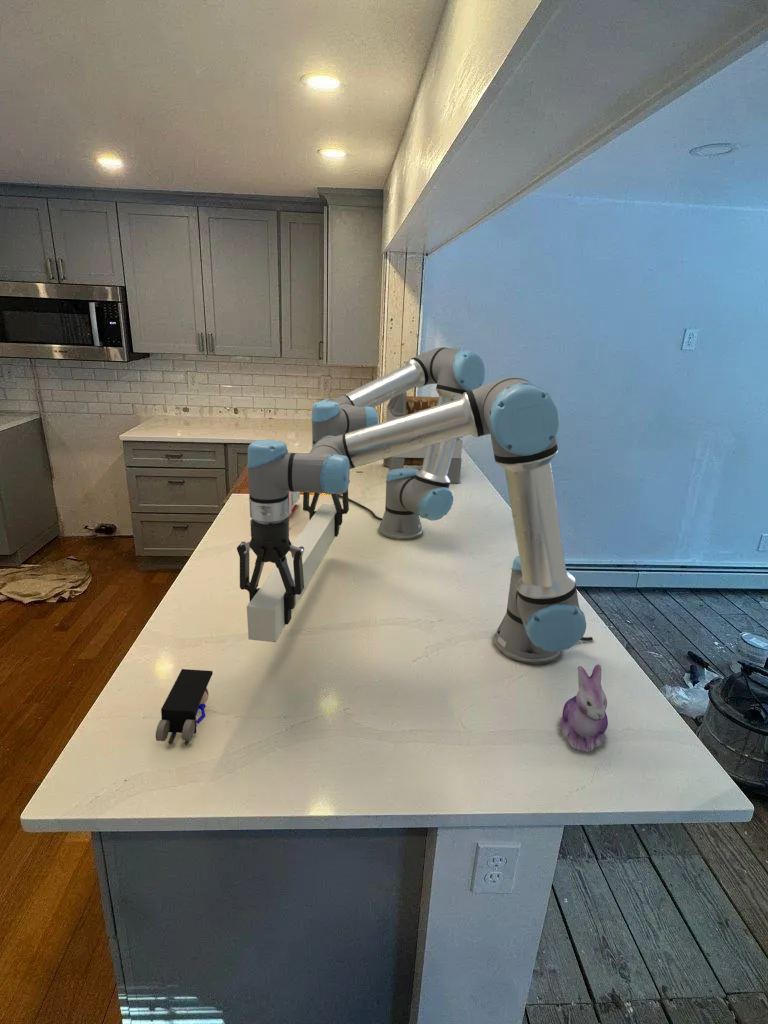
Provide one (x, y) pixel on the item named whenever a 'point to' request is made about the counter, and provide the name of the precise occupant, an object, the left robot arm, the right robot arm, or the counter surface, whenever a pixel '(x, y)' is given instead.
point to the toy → (292, 501)
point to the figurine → (586, 712)
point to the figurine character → (184, 705)
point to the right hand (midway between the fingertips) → (273, 619)
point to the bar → (269, 599)
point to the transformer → (410, 405)
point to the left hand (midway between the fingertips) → (325, 533)
